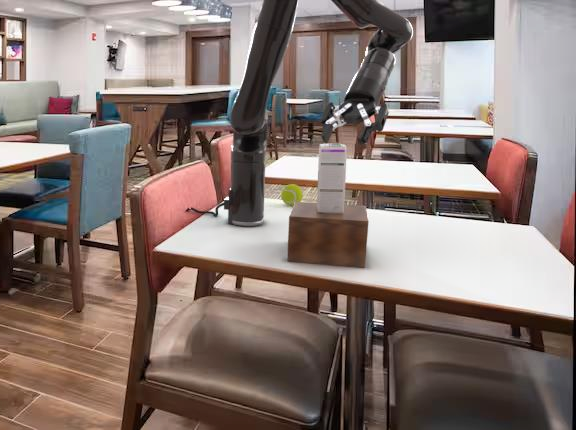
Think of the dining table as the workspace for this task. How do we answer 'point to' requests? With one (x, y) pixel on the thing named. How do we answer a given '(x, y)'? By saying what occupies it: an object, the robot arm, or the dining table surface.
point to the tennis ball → (291, 194)
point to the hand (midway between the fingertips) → (342, 141)
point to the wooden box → (328, 235)
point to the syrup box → (331, 178)
